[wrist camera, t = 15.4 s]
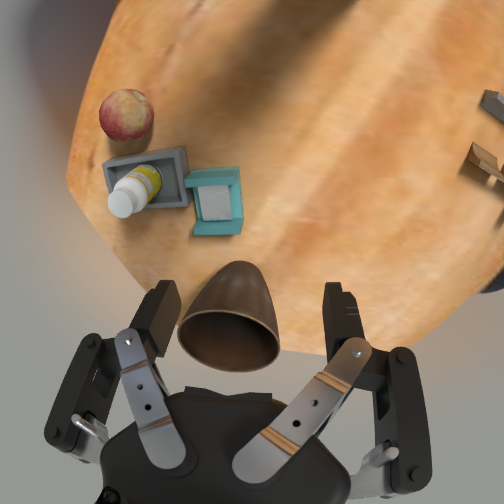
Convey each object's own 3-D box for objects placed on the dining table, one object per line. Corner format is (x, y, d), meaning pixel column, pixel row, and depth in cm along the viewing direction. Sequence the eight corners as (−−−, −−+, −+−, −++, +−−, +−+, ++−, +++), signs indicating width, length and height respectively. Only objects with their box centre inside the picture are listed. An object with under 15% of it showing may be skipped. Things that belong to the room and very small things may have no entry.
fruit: (169, 124, 35) (145, 135, 29) (128, 141, 37) (100, 156, 31) (153, 79, 31) (125, 80, 25) (112, 99, 33) (82, 107, 27)
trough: (111, 158, 39) (101, 163, 36) (185, 146, 37) (178, 151, 35) (122, 203, 44) (114, 211, 41) (193, 198, 42) (188, 206, 40)
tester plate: (199, 183, 38) (197, 186, 38) (228, 182, 38) (227, 184, 37) (204, 217, 42) (203, 220, 41) (232, 216, 41) (231, 220, 40)
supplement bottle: (142, 197, 42) (113, 227, 34) (129, 169, 39) (96, 193, 31) (169, 188, 41) (143, 217, 33) (156, 157, 38) (125, 179, 30)
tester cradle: (193, 169, 39) (184, 179, 36) (238, 166, 39) (234, 176, 35) (201, 220, 44) (194, 235, 41) (243, 219, 44) (240, 234, 40)
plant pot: (187, 277, 52) (161, 342, 39) (231, 225, 44) (210, 293, 31) (249, 314, 56) (239, 381, 43) (299, 273, 49) (302, 346, 36)
